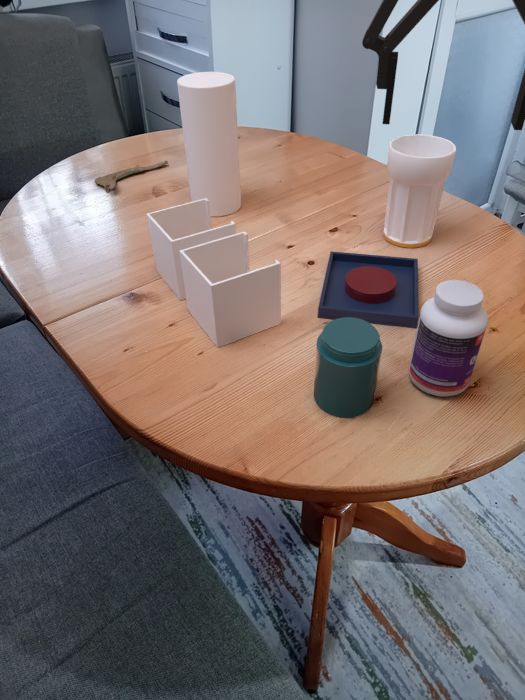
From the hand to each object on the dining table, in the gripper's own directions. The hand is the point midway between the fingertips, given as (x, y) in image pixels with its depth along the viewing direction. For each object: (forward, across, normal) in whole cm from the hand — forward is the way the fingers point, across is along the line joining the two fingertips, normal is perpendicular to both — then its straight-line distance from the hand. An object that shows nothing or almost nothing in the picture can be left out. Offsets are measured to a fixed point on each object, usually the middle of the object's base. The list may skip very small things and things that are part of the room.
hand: (449, 123), depth 58 cm
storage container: (+32, -31, +8) cm, 45 cm away
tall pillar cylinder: (+32, -40, +40) cm, 65 cm away
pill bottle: (+32, +4, -6) cm, 33 cm away
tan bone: (+32, -62, +50) cm, 86 cm away
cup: (+32, 0, +33) cm, 46 cm away
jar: (+32, -8, -12) cm, 35 cm away
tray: (+32, -6, +13) cm, 35 cm away
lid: (+30, -6, +13) cm, 33 cm away
